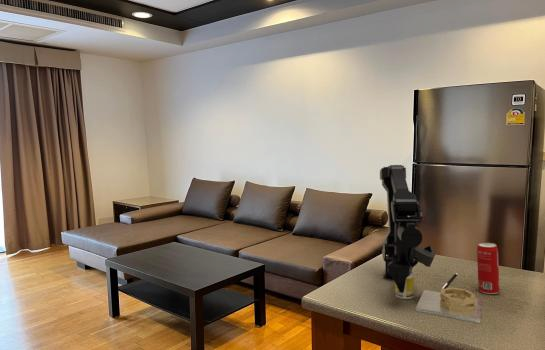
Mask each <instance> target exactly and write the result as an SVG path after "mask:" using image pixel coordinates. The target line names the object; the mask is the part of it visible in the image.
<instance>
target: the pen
mask: <svg viewBox="0 0 545 350" xmlns="http://www.w3.org/2000/svg"><path fill="white" fill-rule="evenodd" d="M457 277H458V273H456V272H455V273H454V274H453V275H452V277H450V279H449V280H448V281H447V282H445V284H444V285H443V286H442V288H441V291H442V289H446V288H449V285H450V284H451V283H452V282H453V281H454V280H455V278H457ZM441 291H440V292H441Z"/></svg>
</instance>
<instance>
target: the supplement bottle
mask: <svg viewBox="0 0 545 350" xmlns="http://www.w3.org/2000/svg"><path fill="white" fill-rule="evenodd" d="M414 279H415V278H414V272H412V273H411V275H410V276H408V277H407V278H406V283H405V288H404V292H403V293H401V292H399V289H398V287H397V285H396V283H395V282H394V294H395V296H396V298H399V299H401V300H410V299H413V298H414V297H415V296H414V291H415V289H414V288H415V287H414V285H415V283H414V281H415V280H414Z"/></svg>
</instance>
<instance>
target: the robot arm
mask: <svg viewBox="0 0 545 350" xmlns="http://www.w3.org/2000/svg"><path fill="white" fill-rule="evenodd" d="M379 180H381V186H382V187H383V188H384V190H385V192H386V199H387V215H388V217H387V218H388V219H387V221H388V234H387V235H386V237H385V239H384V243H383V245H382V249H381V255H382V259H383V262H385V264H384V265H385V269H384V270H385V274H384V276H383V278H384V279H389V280H393V281H394V284H395V283H396V285H397V287H398V289H399V292H401V293H403V292H404V288H405V283H406V278H407V277H408V276H410V275H411V273H413V272H412V271H413V268H414V267H415V266H416V265H418V263H420V264H422V265H423V266H424V267H428V268H430V267H431V265H432V263H433V261H434V259H435V256H436V254H435V252H434V251H433V246H430V245H429V244H427V245H426V246H424V247H422V246H420V245H421V243H422V242H423V233H422V232H421V231H420V230H419V228H418V227H417V223H422V219H423V211H422V206H421V204H420V202H419V200H417V197H416V195H415V193H413V192H412V191H410V190H409V186H408V183H407V168H406V167H405V166H404V165H402V164H391V165H390V164H389V165H388V166H383V167H382V168H381V169H380V171H379Z"/></svg>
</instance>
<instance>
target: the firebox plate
mask: <svg viewBox="0 0 545 350" xmlns="http://www.w3.org/2000/svg"><path fill="white" fill-rule="evenodd" d="M441 289H442V288H441ZM482 309H483V299H482V298H476V294H475V293H474V292H472V291H470V290H467V289H464V288H457V287H447V288H446V289H442V291H435V290H434V291H433V290H429V289H428V290H427V289H424V290H423V292H422V294H421V296H420V298H419V300H418V302H417V305H416V306H415V311H416V312H420V313H425V314H430V315H436V316H440V317H446V318H450V319H456V320H461V321H466V322H470V323H478V324H481V322H482V311H483V310H482Z"/></svg>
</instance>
